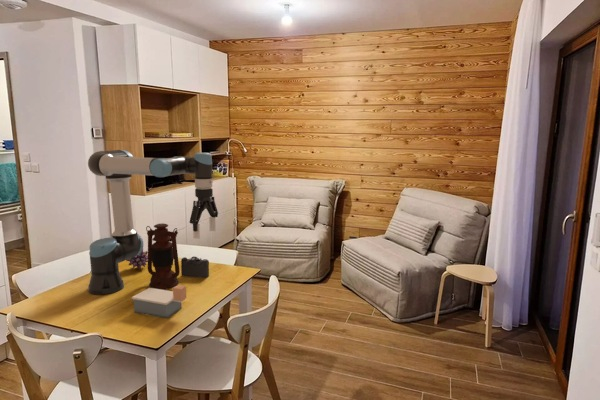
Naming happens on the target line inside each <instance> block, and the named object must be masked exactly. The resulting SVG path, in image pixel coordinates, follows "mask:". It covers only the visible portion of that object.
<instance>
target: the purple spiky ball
mask: <svg viewBox="0 0 600 400" xmlns="http://www.w3.org/2000/svg"><path fill="white" fill-rule="evenodd" d="M125 261H126V262H129V263H128V266H132V269H135V268H137V270H138V269H139V270H141V268H142V267H144V268H145V267H146V266H148V250H145V251H144V249H143V250H142V252H141V253H140V254H139V255H137V256H135V257H134V258H131V259H128V260H125Z"/></svg>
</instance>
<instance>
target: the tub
mask: <svg viewBox="0 0 600 400" xmlns="http://www.w3.org/2000/svg"><path fill="white" fill-rule="evenodd" d="M132 300H133V311H134V312H133V313H135V314H142V315H146V316H152V317H156V318H162V319H169V318H170V317H172V315H174V314H175V313H177V312H178V311H180V310H181V309H182V307H183V306H182V302H176V301H172V302H170V303H169V304H167V305H163V304H158V303H152V302H146V301H141V300H135V299H132Z"/></svg>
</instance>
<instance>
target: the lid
mask: <svg viewBox="0 0 600 400" xmlns="http://www.w3.org/2000/svg"><path fill="white" fill-rule="evenodd" d="M133 299H135V300H141V301H146V302H152V303H158V304H163V305H167V304H169V303H170V302H172V301H176V302H181V303H182V302H184V301H185V300H186V299H187V286H185V285H180V284H178V285H177V286H175V287H173V288H172V290H168V289H165V290H161V289H155V288H150V287H148V288H146V289H144V290H143V291H141V292H139V293H137V294H134V296H131V300H133Z"/></svg>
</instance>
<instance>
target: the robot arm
mask: <svg viewBox="0 0 600 400" xmlns="http://www.w3.org/2000/svg"><path fill="white" fill-rule="evenodd" d="M212 157H213V156H212V154H211V153H210V152H195V153H194V156H182V155H177V156H173V157H167V158H166V157H138V156H137V157H134V155H133V154H132V153H131V151H128V150H125V149H113V150H99V151H95V152H94V153H92V154H91V155H90V156H89V158H88V161H87V167H88V169H89V171H90V172H91V173H92V174H94V175H95V176H98V177H105V180H106V181H107V182H109V188H110V197H111V198H110V199H111V207H112V214H113V215H112V216H113V226H114V231H113V232H112V233H111V237H103V238H100V239H99V238H98V239H96V240H94V241H93V242H92V243H90V245H89V251H88V253H89V259H90V260H89V262H90V273H91V275H90V279H89V284H88V286H87V287H88V289H87V290H88V293H89V294H92V295H110V294H114V293H116V292H119V291H121V290H122V289H123V288H124V287H125V286H124V285H125V284H124V280H123V278H122V275H121V273H120V271H119V263H122V262H125V261H126V260H128V259H131V258H134V257H135V256H137V255H139V254H140V253H141V252H142V250H143V251H144V240H143V238H142V236H141V235H140V234H138V230H137V229H135V228H134V220H133V211H132V210H133V209H132V200H131V199H132V198H131V190H130V180H131V179H132V178H133V175H136V176H137V175H138V176H152V177H153V176H154V177H156V178H165V177H169V176H170V177H171V176H176V175H183V174H185V175H186V174H189V175H194V187H195V190H194V195H195V197H196V198H197V200H193V205H192V210H191V214H190V217H189V218H190V219H189V223H190V224H192V231H193V233H192V235H193V239H201V237H200V236H201V230H200V229H201V226H200V223H199V222H200V221H201V220H200V219H201V216H202V215H203V214H202V213H203V212H204V211H205V210H206V211H207V212H208V214H209V217H208V218H209V232H216V230H217V229H216V218H218V216H219V211H218V208H217V204H216V201H215V196H213V195H214V194H213V190H214V189H213V181H214V180H213V159H212Z"/></svg>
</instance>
